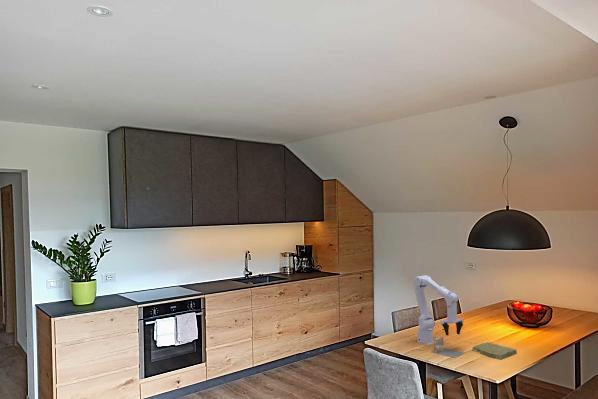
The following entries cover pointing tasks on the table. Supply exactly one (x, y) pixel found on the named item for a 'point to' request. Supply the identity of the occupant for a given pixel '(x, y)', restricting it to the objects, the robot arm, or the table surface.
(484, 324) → the table surface
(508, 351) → the decorative tile
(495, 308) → the table surface
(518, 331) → the table surface
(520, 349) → the table surface
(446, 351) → the mat
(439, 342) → the slab
